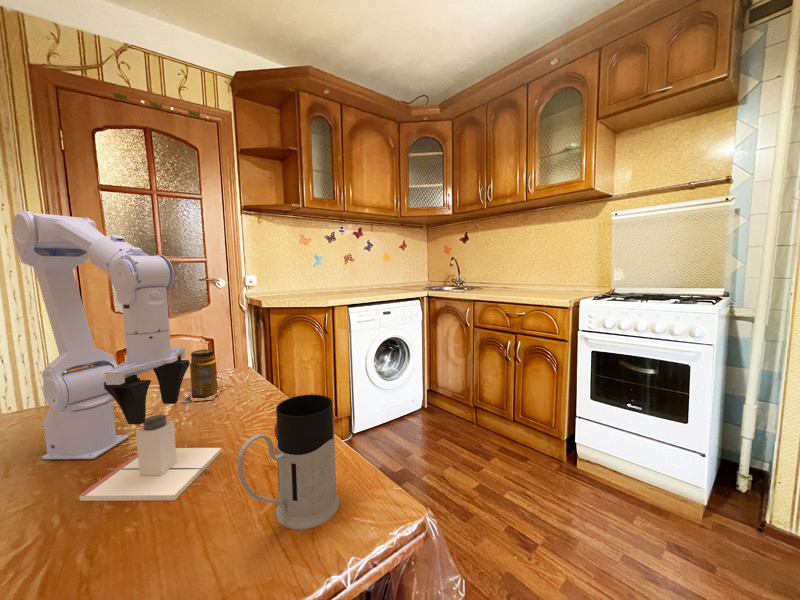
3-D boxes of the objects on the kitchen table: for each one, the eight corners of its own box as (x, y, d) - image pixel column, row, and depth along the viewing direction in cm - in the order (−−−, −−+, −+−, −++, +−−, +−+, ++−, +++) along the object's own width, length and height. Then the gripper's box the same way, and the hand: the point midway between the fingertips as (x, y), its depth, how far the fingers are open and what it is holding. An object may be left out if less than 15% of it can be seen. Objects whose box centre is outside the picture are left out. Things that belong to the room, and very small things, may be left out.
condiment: (222, 389, 95) (220, 347, 94) (213, 401, 87) (210, 355, 85) (194, 391, 93) (191, 349, 92) (181, 403, 85) (178, 357, 84)
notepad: (69, 500, 50) (69, 495, 49) (138, 452, 62) (137, 447, 62) (184, 500, 49) (184, 494, 49) (229, 451, 62) (229, 447, 62)
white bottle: (139, 475, 54) (135, 424, 53) (155, 462, 58) (151, 414, 57) (161, 475, 54) (157, 423, 53) (176, 462, 58) (173, 414, 57)
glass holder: (352, 499, 49) (349, 400, 48) (266, 572, 38) (259, 445, 36) (311, 479, 54) (308, 388, 53) (224, 538, 43) (216, 424, 41)
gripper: (137, 340, 47) (145, 434, 48) (199, 323, 61) (204, 395, 63) (86, 340, 47) (96, 434, 48) (161, 323, 61) (166, 395, 63)
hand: (154, 412), depth 55 cm, fingers open, 7 cm apart
